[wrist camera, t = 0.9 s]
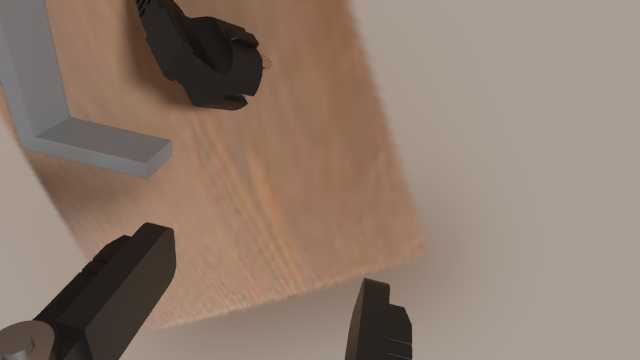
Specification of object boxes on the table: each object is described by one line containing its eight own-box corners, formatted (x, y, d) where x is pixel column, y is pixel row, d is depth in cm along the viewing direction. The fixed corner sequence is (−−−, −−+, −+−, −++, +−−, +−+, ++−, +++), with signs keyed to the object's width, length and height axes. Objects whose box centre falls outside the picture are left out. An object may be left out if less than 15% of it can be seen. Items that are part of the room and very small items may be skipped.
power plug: (136, -85, 24) (215, 55, 21) (228, -37, 30) (302, 77, 27) (102, -12, 27) (167, 122, 24) (193, 19, 33) (255, 128, 30)
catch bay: (-19, -178, 24) (-87, -196, 20) (150, -148, 23) (107, -162, 20) (58, 128, 35) (22, 148, 32) (171, 155, 35) (147, 179, 31)
